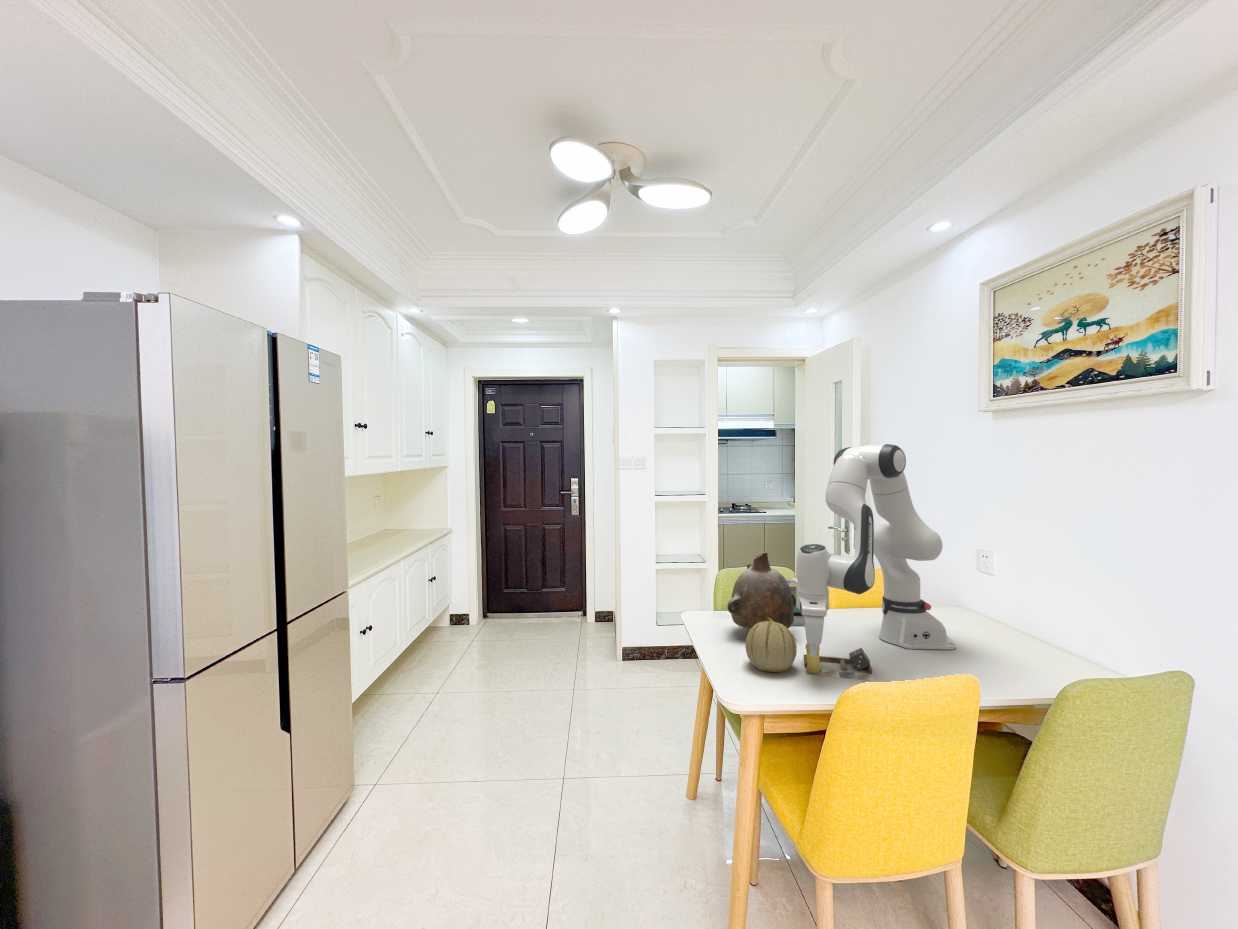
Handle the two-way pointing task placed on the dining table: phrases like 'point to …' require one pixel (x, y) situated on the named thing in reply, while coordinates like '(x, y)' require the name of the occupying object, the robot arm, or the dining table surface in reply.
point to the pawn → (813, 661)
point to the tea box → (798, 616)
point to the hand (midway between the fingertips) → (811, 650)
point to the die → (859, 659)
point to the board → (842, 673)
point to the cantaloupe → (771, 646)
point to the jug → (761, 596)
